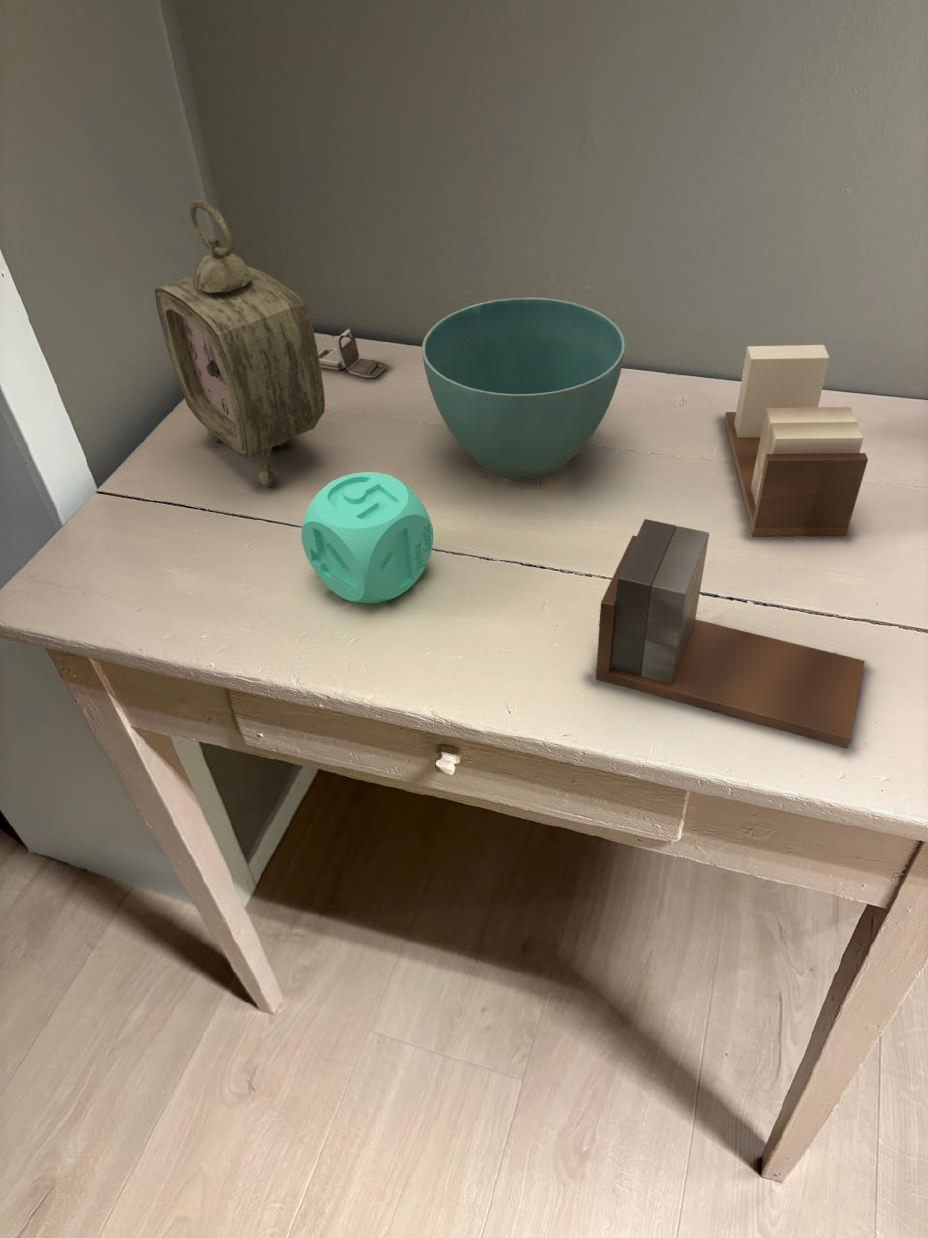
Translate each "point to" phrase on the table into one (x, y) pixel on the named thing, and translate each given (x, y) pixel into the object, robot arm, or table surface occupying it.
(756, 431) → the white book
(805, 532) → the brown wooden book rack
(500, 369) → the teal bowl
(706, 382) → the table surface
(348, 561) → the decorative dice
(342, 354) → the strap clip
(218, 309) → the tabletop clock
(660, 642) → the brown wooden bookend
